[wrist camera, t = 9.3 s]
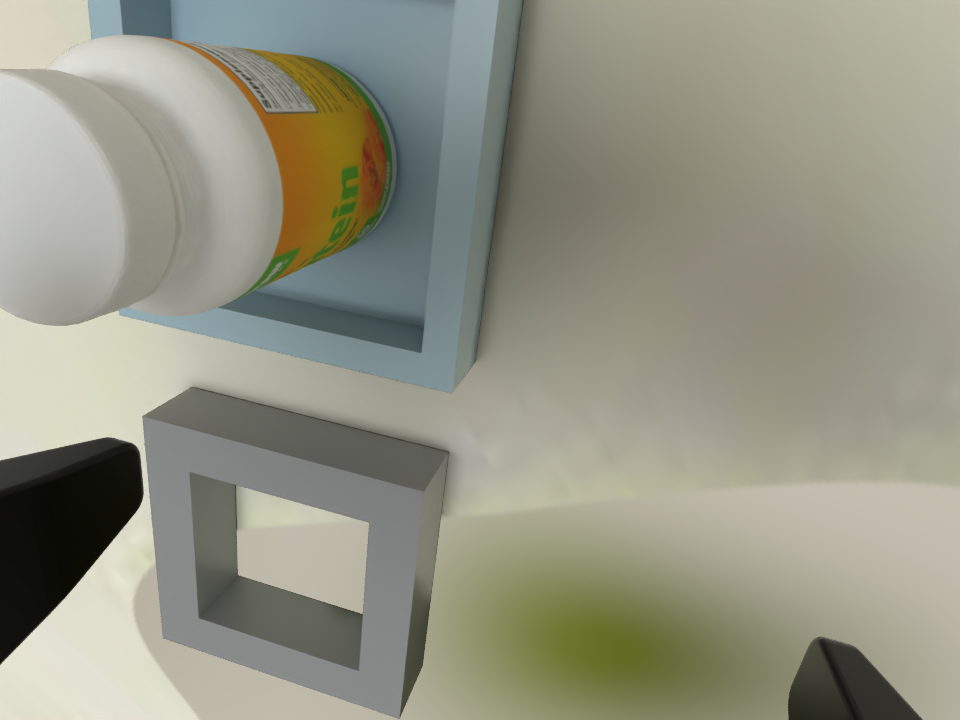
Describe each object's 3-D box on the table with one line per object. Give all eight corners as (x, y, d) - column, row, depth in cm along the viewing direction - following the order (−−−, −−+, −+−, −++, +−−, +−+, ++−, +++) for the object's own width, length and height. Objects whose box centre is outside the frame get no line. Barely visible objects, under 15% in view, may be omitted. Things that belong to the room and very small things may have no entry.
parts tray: (528, -39, 16) (506, -63, 14) (475, 361, 21) (451, 393, 18) (149, -77, 18) (77, -102, 16) (173, 294, 23) (119, 315, 20)
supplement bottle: (348, 285, 20) (105, 427, 11) (206, 181, 20) (-146, 243, 11) (436, 133, 18) (217, 164, 9) (277, 14, 18) (-101, -70, 9)
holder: (448, 452, 22) (423, 491, 20) (422, 665, 26) (399, 718, 24) (191, 387, 24) (142, 416, 22) (203, 594, 28) (163, 638, 26)
